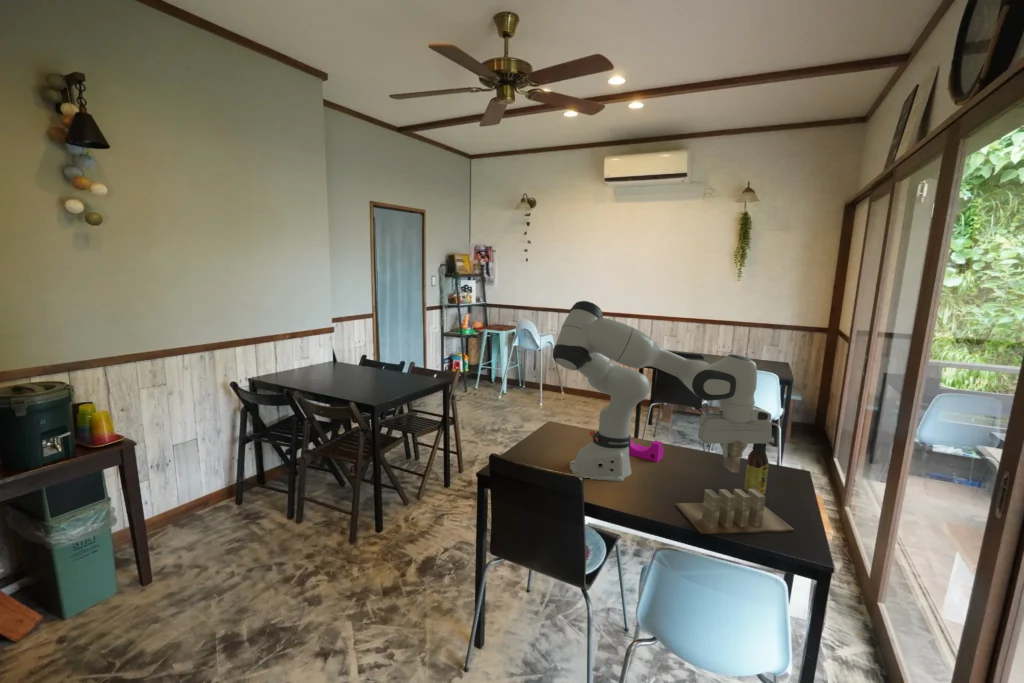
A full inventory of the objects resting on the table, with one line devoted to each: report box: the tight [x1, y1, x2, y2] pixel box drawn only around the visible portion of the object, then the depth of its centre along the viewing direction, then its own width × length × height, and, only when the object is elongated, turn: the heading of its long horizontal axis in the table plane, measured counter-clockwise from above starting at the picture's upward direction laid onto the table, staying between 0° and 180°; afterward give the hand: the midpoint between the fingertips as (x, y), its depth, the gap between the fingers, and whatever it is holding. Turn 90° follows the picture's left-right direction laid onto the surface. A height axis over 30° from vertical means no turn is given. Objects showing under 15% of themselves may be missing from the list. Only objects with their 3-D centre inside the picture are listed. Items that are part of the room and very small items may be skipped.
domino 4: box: [732, 488, 751, 527], centre depth 133 cm, size 2×5×9 cm, turn 6°
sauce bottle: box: [743, 443, 770, 497], centre depth 150 cm, size 7×6×20 cm
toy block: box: [629, 438, 664, 463], centre depth 182 cm, size 15×6×8 cm, turn 53°
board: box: [674, 502, 795, 535], centre depth 137 cm, size 28×16×1 cm, turn 96°
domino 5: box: [748, 489, 766, 526], centre depth 133 cm, size 2×5×9 cm, turn 6°
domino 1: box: [702, 488, 721, 527], centre depth 132 cm, size 2×5×9 cm, turn 6°
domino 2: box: [723, 441, 742, 473], centre depth 133 cm, size 2×5×9 cm, turn 3°
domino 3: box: [718, 488, 736, 527], centre depth 132 cm, size 2×5×9 cm, turn 6°
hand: (732, 456), depth 133 cm, fingers closed on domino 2, 2 cm apart
